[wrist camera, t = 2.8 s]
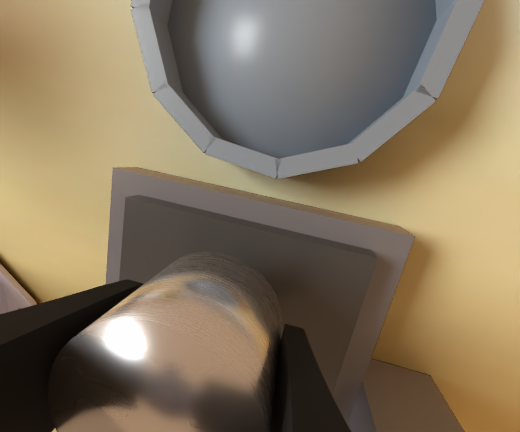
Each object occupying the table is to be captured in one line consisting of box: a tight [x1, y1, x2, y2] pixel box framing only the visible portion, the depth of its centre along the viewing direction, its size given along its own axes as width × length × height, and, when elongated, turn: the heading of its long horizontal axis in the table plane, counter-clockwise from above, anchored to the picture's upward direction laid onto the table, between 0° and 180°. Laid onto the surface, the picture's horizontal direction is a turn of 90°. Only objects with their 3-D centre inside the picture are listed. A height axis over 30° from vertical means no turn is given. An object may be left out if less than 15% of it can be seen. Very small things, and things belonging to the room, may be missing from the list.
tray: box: [131, 0, 484, 179], centre depth 10 cm, size 12×12×2 cm
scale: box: [106, 167, 464, 432], centre depth 13 cm, size 23×19×5 cm
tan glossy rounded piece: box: [48, 252, 282, 432], centre depth 7 cm, size 5×5×4 cm
